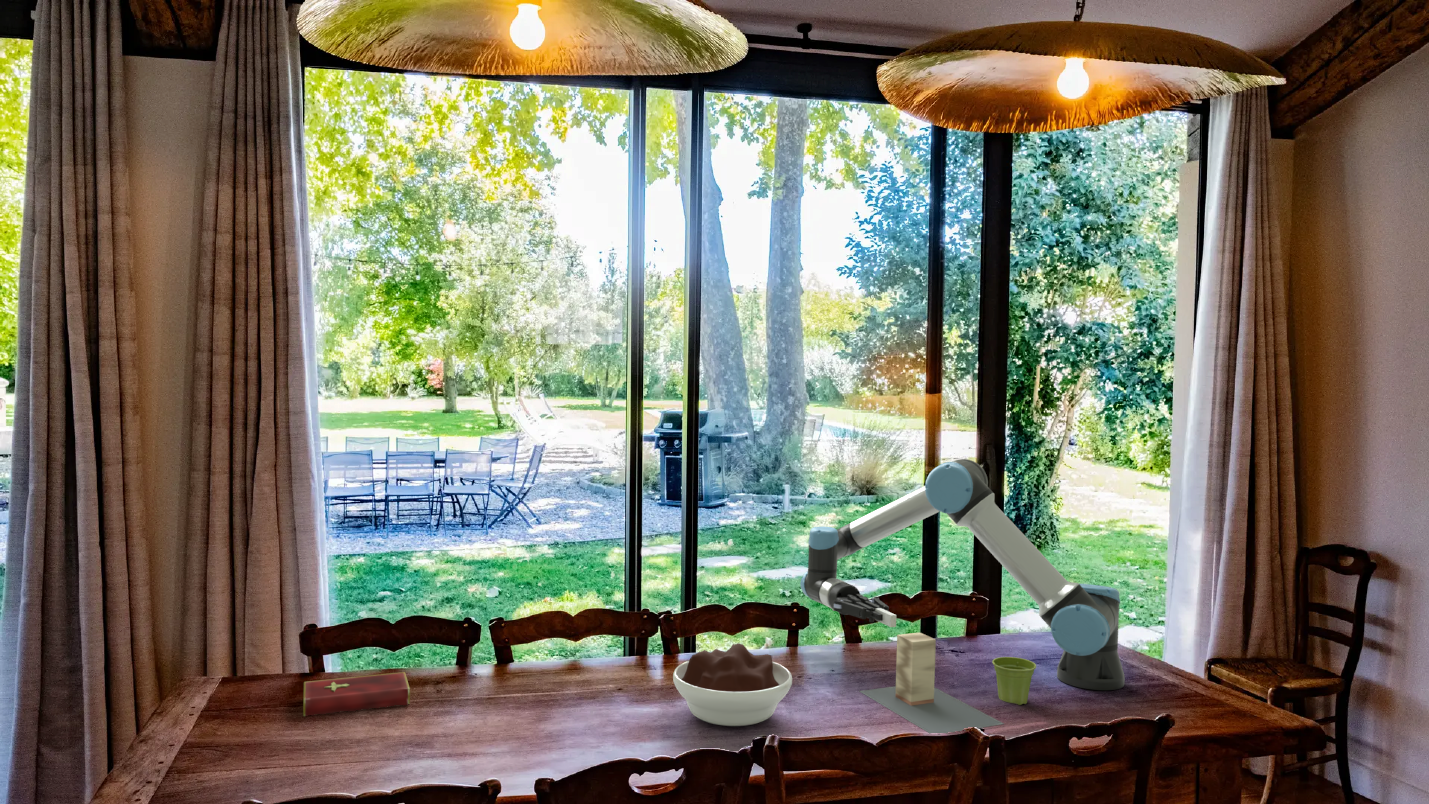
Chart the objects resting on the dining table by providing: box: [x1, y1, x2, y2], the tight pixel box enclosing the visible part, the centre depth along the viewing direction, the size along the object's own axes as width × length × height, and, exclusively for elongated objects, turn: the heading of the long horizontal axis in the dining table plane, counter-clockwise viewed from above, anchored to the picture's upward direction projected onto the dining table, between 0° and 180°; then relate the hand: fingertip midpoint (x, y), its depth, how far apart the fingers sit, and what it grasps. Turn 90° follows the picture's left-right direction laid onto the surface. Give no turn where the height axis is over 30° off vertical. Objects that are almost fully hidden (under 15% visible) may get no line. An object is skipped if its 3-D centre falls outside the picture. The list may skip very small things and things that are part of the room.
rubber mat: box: [858, 685, 1005, 734], centre depth 212 cm, size 28×18×1 cm, turn 23°
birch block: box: [895, 632, 937, 706], centre depth 216 cm, size 6×6×14 cm
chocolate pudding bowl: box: [672, 643, 793, 727], centre depth 205 cm, size 25×25×15 cm
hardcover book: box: [302, 671, 411, 717], centre depth 210 cm, size 12×21×4 cm, turn 112°
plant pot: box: [991, 656, 1037, 706], centre depth 219 cm, size 9×9×9 cm
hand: (893, 621), depth 224 cm, fingers closed
